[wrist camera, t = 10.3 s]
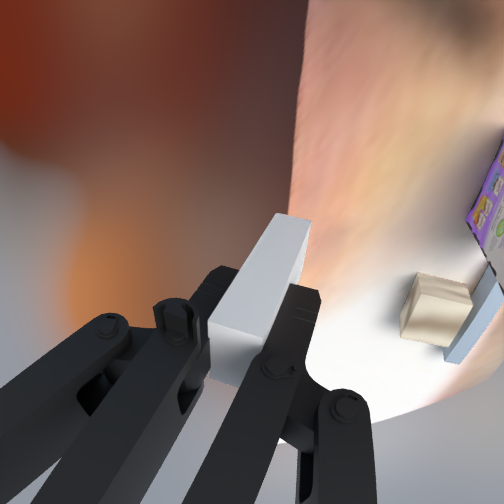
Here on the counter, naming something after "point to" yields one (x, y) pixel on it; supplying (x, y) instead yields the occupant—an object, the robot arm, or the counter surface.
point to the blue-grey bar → (476, 317)
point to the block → (434, 310)
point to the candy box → (491, 217)
